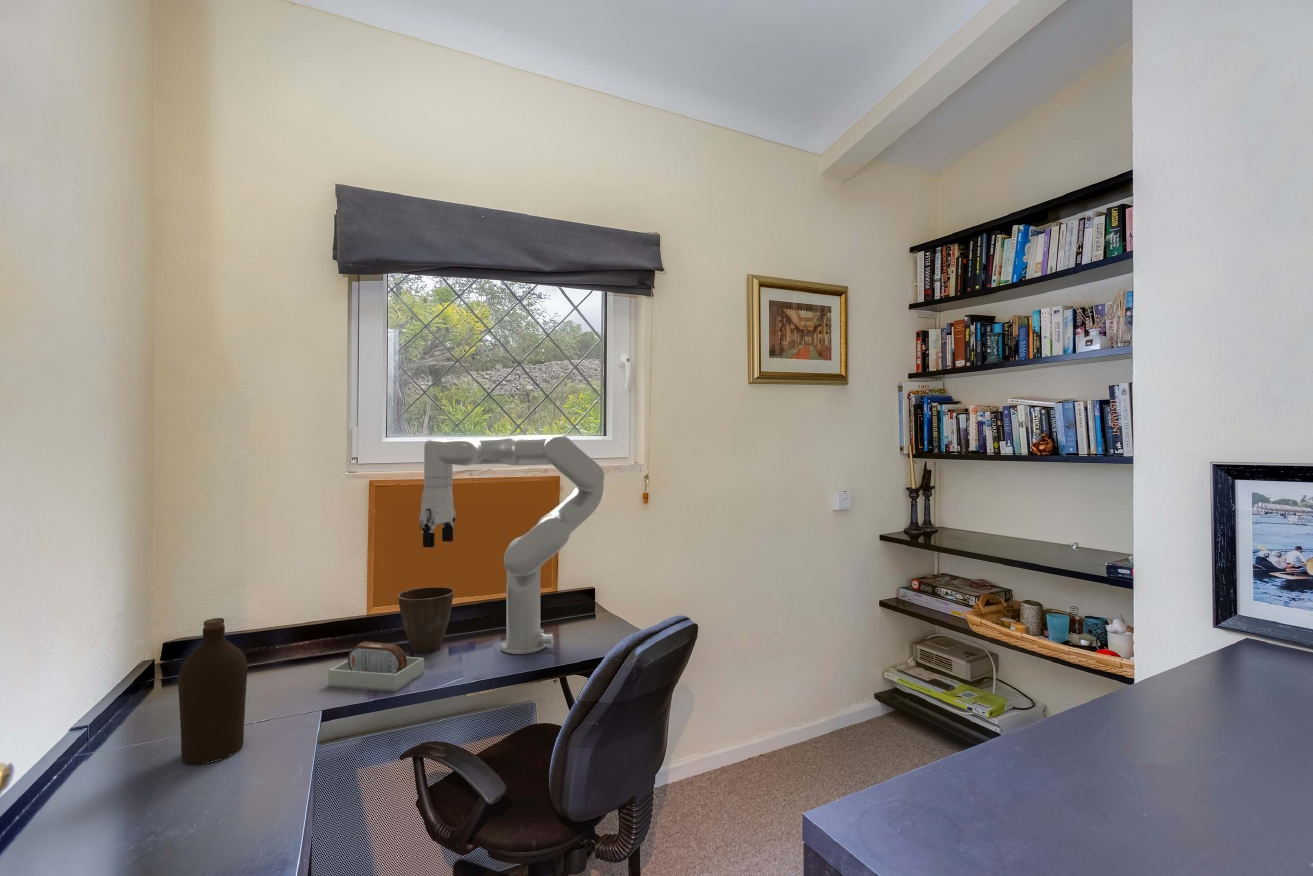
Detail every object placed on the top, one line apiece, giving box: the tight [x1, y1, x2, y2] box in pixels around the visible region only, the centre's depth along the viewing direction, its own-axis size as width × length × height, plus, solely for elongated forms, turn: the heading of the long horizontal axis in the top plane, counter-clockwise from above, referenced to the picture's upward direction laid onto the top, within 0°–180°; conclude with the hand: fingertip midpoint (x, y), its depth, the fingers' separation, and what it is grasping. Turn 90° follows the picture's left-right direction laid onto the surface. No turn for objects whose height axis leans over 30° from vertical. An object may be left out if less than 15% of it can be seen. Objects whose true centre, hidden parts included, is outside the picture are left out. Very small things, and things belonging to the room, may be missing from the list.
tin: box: [347, 641, 407, 674], centre depth 148 cm, size 15×3×8 cm, turn 78°
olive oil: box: [177, 617, 249, 766], centre depth 114 cm, size 11×11×25 cm
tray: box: [327, 656, 425, 693], centre depth 148 cm, size 18×12×4 cm, turn 79°
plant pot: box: [397, 586, 455, 654], centre depth 171 cm, size 15×15×16 cm
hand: (438, 544), depth 169 cm, fingers open, 9 cm apart
